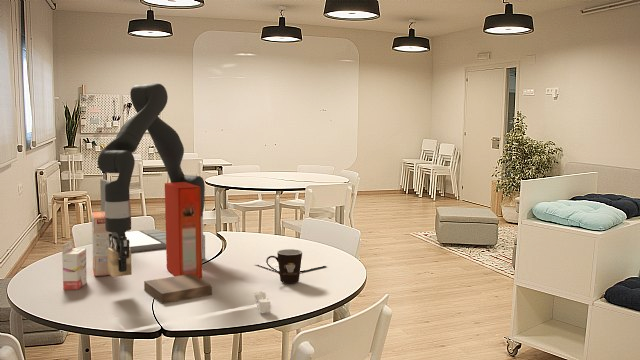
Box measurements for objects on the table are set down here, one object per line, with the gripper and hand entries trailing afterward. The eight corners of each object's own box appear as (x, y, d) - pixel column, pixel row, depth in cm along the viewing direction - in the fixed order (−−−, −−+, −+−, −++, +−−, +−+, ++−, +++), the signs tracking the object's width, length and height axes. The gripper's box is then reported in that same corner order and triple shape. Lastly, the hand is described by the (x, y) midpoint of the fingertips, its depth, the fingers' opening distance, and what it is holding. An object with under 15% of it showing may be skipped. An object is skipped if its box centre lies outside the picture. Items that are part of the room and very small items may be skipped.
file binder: (178, 281, 188) (177, 187, 185) (165, 269, 203) (164, 182, 200) (202, 278, 192) (201, 186, 189) (187, 267, 207) (186, 181, 204)
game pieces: (270, 312, 159) (270, 301, 159) (259, 313, 158) (259, 302, 158) (264, 299, 171) (264, 289, 170) (254, 300, 170) (253, 290, 169)
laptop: (184, 247, 241) (183, 182, 238) (122, 255, 226) (120, 186, 223) (157, 234, 270) (156, 176, 267) (101, 240, 254) (99, 178, 252)
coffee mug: (305, 278, 193) (306, 250, 192) (296, 285, 185) (296, 255, 184) (275, 275, 197) (275, 247, 196) (265, 281, 189) (265, 252, 188)
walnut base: (191, 282, 187) (191, 273, 187) (211, 294, 174) (211, 285, 174) (144, 290, 178) (144, 281, 177) (162, 303, 165) (161, 293, 165)
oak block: (126, 270, 176) (125, 245, 175) (131, 274, 171) (130, 249, 170) (108, 273, 172) (107, 248, 172) (113, 277, 168) (112, 251, 167)
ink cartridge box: (78, 289, 177) (77, 244, 176) (62, 290, 177) (61, 244, 176) (87, 282, 186) (86, 239, 185) (72, 282, 186) (71, 239, 184)
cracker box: (112, 275, 195) (111, 216, 193) (94, 277, 192) (92, 217, 190) (109, 266, 207) (108, 210, 205) (92, 267, 205) (90, 211, 203)
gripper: (137, 217, 166) (139, 272, 168) (123, 210, 178) (125, 262, 180) (112, 220, 162) (113, 276, 164) (99, 213, 173) (100, 265, 175)
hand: (119, 268), depth 172 cm, fingers closed on oak block, 5 cm apart
